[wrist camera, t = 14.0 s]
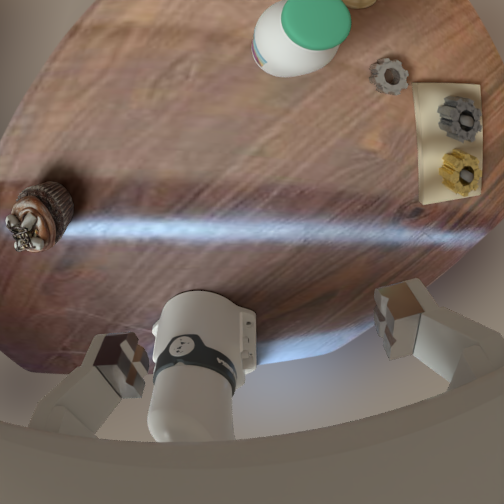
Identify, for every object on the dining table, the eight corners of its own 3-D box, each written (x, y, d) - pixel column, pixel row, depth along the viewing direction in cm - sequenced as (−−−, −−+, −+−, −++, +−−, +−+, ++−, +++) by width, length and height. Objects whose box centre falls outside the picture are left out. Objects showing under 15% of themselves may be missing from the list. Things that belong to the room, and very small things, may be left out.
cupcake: (88, 223, 44) (58, 256, 35) (46, 238, 45) (15, 271, 36) (64, 166, 39) (27, 190, 30) (23, 187, 40) (-14, 213, 31)
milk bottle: (324, 40, 32) (392, 9, 15) (295, 88, 35) (342, 92, 18) (269, 11, 30) (292, -50, 13) (240, 60, 33) (236, 35, 16)
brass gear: (469, 186, 40) (480, 193, 37) (438, 191, 41) (449, 199, 38) (470, 147, 37) (482, 153, 34) (438, 150, 37) (450, 155, 35)
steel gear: (474, 127, 35) (487, 132, 32) (446, 145, 37) (458, 150, 34) (460, 89, 33) (473, 91, 30) (430, 105, 34) (442, 108, 31)
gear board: (475, 191, 42) (494, 204, 37) (418, 200, 43) (436, 216, 38) (473, 84, 33) (496, 87, 28) (411, 82, 34) (432, 84, 29)
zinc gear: (405, 89, 35) (413, 90, 33) (375, 97, 36) (381, 98, 34) (395, 55, 32) (402, 55, 30) (363, 62, 33) (369, 62, 31)
